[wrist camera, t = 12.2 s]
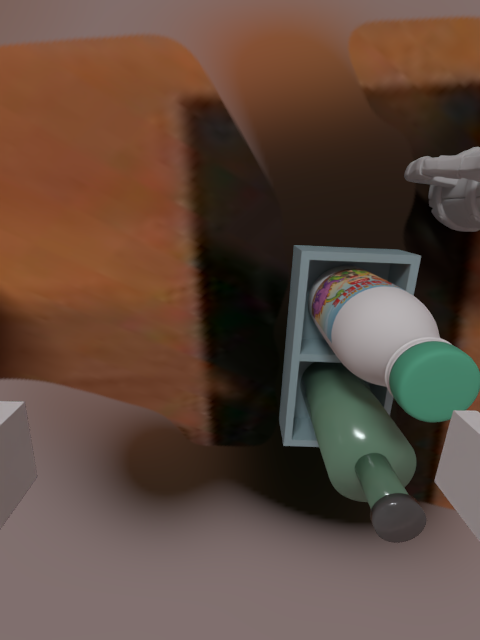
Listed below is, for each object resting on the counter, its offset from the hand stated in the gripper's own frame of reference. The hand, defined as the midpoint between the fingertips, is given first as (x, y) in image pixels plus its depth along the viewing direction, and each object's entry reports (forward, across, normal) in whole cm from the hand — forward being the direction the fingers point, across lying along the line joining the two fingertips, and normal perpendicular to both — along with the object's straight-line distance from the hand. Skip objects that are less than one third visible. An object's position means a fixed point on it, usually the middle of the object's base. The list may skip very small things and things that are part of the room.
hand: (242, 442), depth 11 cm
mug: (+28, +21, +10) cm, 36 cm away
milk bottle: (+28, +12, -2) cm, 30 cm away
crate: (+28, +12, -7) cm, 31 cm away
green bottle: (+28, +12, -12) cm, 33 cm away
